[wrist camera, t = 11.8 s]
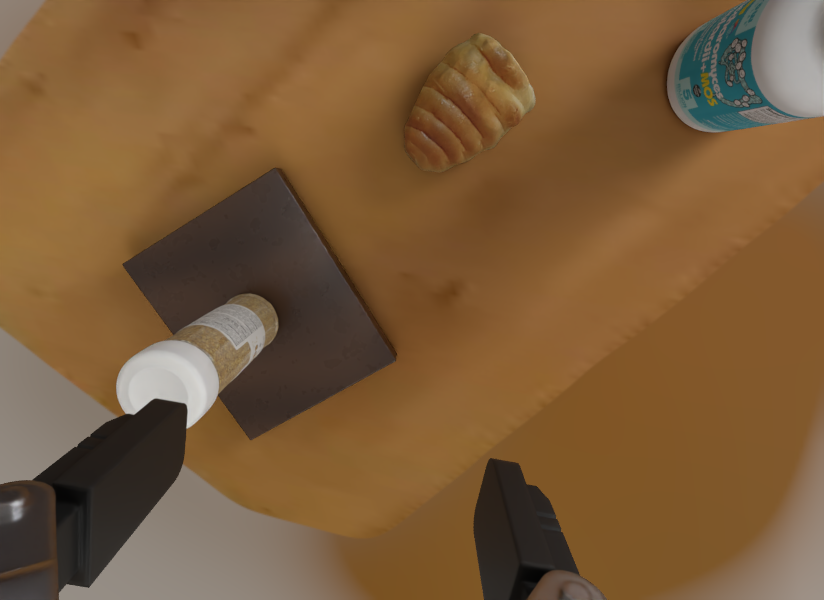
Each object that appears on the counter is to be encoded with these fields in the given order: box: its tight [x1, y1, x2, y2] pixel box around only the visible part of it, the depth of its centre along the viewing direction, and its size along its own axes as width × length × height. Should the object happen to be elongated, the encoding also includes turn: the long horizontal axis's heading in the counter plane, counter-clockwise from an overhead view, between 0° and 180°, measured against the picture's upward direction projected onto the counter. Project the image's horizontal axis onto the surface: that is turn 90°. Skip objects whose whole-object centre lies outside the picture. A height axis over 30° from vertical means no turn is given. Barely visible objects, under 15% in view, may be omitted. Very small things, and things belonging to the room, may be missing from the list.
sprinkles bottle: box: [116, 293, 279, 429], centre depth 30 cm, size 5×5×14 cm
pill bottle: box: [667, 0, 824, 132], centre depth 27 cm, size 8×7×14 cm
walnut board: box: [123, 168, 397, 440], centre depth 37 cm, size 17×14×2 cm
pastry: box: [404, 33, 536, 172], centre depth 32 cm, size 9×7×4 cm
